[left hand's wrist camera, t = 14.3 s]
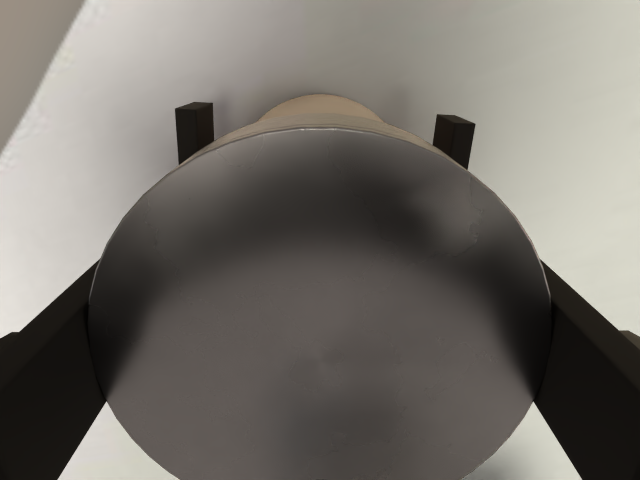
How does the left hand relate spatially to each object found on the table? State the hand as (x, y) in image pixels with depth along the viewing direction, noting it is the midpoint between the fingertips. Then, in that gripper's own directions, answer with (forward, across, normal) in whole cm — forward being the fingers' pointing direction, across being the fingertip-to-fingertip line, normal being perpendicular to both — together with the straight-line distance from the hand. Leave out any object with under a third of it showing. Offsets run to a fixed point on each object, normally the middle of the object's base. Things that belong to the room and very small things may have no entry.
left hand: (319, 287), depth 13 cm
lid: (-3, 0, 0) cm, 3 cm away
